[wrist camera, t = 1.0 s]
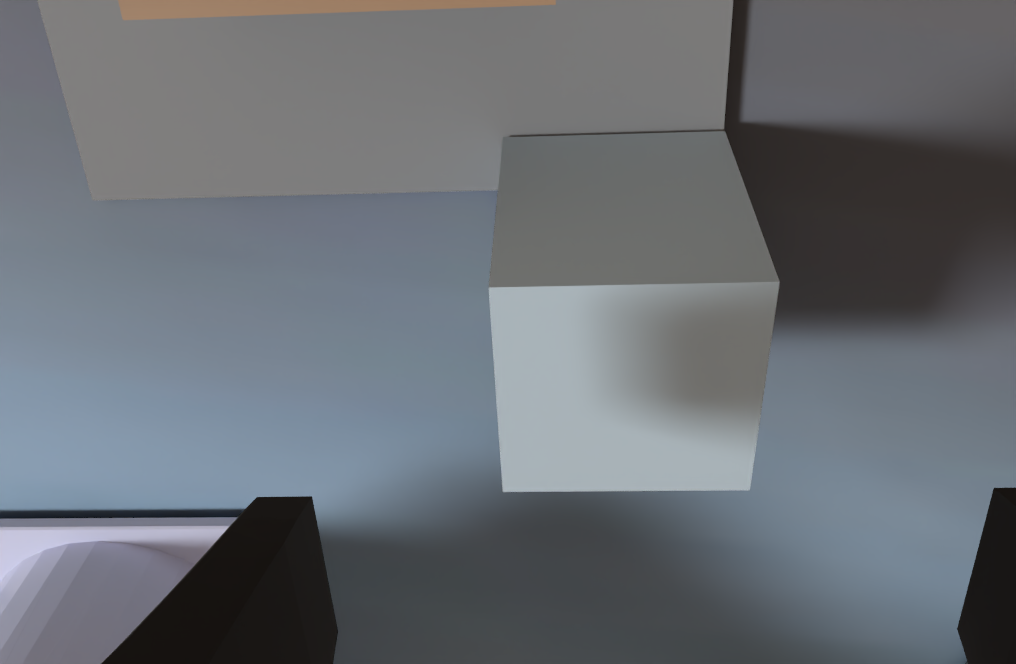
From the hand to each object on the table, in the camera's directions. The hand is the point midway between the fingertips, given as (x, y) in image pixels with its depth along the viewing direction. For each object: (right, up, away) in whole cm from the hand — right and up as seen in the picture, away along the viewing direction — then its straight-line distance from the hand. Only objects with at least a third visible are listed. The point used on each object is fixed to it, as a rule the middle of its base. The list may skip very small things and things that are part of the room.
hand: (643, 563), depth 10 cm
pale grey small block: (+1, +5, +8) cm, 9 cm away
